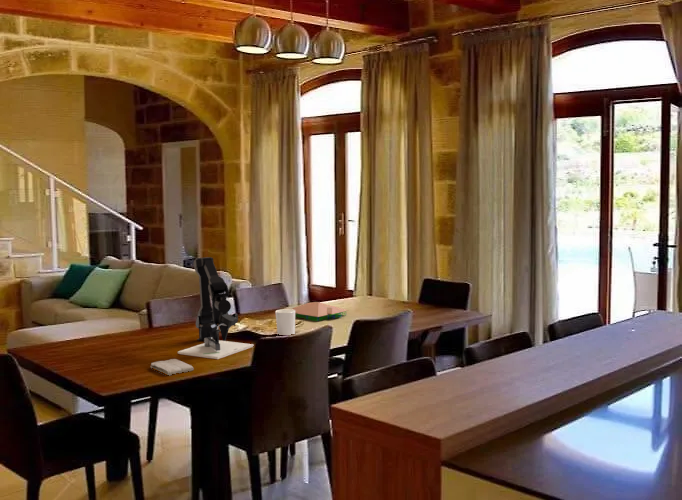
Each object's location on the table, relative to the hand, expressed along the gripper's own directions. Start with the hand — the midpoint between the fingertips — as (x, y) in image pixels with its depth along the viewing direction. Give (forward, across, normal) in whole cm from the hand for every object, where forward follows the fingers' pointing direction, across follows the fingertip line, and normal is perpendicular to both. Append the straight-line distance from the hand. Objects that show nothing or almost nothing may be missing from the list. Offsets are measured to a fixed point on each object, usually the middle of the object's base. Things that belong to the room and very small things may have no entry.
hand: (221, 342), depth 328 cm
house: (+8, +83, +2) cm, 84 cm away
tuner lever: (+2, -4, +1) cm, 5 cm away
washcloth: (+2, -36, -3) cm, 36 cm away
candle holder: (+5, +36, -11) cm, 38 cm away
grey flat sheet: (+3, -2, +1) cm, 4 cm away
